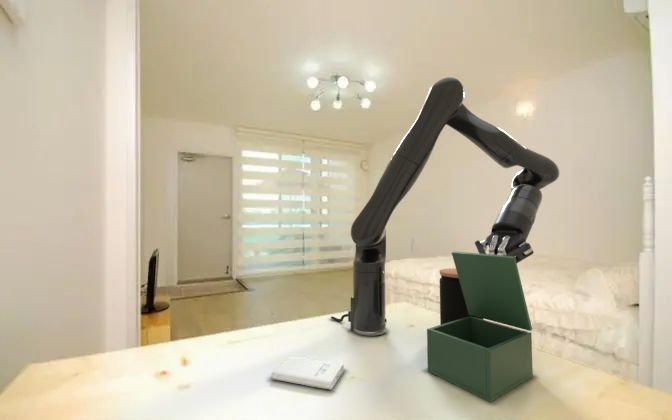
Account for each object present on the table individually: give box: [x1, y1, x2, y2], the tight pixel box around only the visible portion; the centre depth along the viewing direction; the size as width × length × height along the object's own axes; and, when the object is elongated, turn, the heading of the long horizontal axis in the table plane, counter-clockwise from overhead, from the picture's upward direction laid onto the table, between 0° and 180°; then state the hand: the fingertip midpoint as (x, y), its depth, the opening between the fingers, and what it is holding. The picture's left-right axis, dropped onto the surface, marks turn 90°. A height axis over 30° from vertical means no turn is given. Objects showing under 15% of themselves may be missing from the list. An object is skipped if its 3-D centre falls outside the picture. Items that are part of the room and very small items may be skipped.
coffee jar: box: [439, 268, 484, 325], centre depth 82 cm, size 11×11×18 cm
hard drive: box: [271, 355, 345, 391], centre depth 63 cm, size 2×8×12 cm
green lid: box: [451, 250, 533, 332], centre depth 67 cm, size 16×14×1 cm
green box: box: [426, 316, 534, 403], centre depth 64 cm, size 16×14×9 cm
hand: (488, 277), depth 67 cm, fingers closed
